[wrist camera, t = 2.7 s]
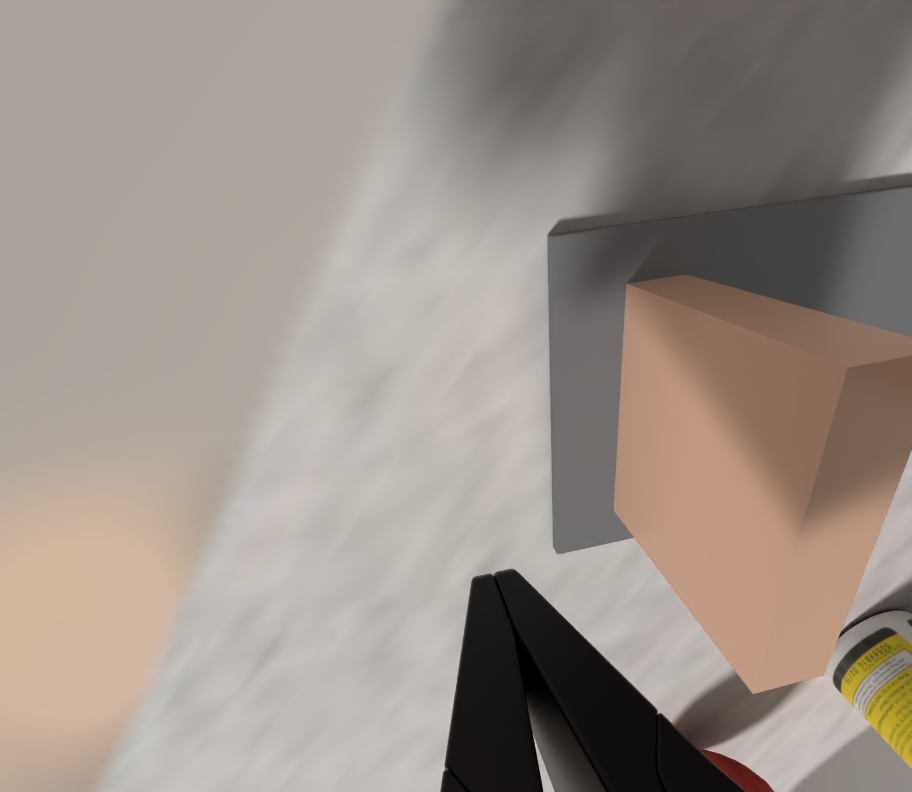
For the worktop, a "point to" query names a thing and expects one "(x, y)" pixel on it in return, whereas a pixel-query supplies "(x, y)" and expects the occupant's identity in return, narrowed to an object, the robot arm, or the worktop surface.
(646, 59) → the worktop surface
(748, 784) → the onion
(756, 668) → the block
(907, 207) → the slate mat
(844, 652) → the supplement bottle
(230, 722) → the worktop surface
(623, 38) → the worktop surface
